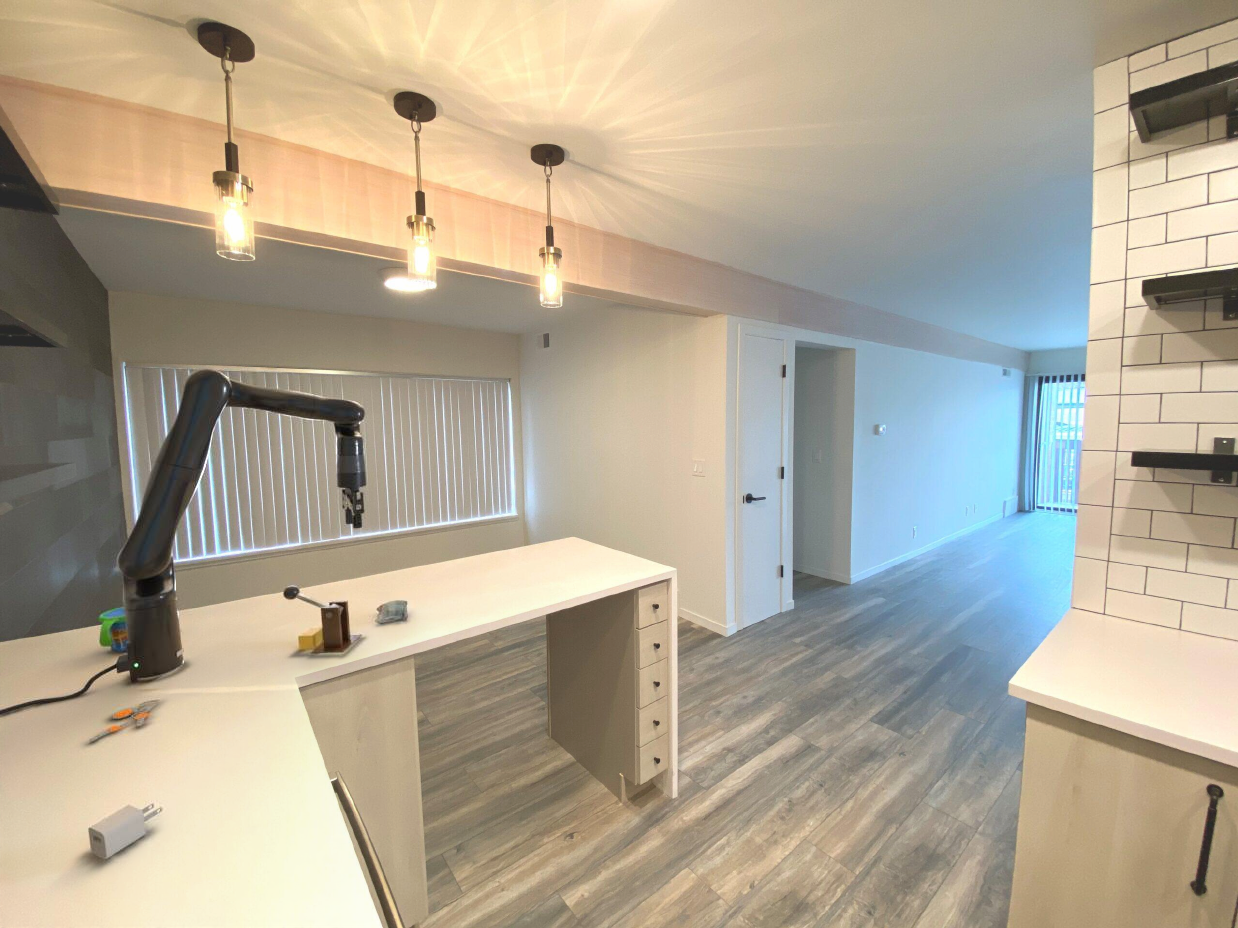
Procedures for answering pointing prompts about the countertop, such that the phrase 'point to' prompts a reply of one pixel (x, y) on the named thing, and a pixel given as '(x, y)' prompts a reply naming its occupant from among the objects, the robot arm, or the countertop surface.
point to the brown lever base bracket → (335, 629)
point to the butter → (310, 638)
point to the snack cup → (113, 630)
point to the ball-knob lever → (304, 597)
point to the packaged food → (392, 611)
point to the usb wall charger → (119, 830)
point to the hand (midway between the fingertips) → (353, 525)
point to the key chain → (139, 716)
